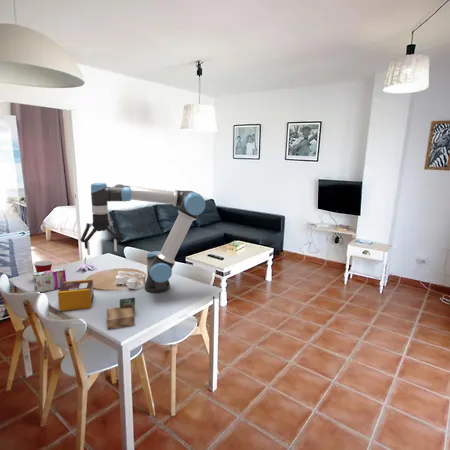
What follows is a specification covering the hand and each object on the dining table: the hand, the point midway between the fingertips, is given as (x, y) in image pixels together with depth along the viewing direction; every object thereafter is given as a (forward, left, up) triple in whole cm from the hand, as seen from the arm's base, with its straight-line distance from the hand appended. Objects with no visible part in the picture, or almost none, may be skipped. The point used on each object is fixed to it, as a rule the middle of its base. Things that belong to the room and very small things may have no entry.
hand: (102, 252), depth 167 cm
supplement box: (+15, 0, -24) cm, 28 cm away
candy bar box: (+16, -36, -23) cm, 46 cm away
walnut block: (-2, +24, -29) cm, 38 cm away
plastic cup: (+26, -53, -29) cm, 66 cm away
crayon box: (-7, +20, -21) cm, 30 cm away
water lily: (0, -62, -20) cm, 65 cm away
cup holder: (-19, -18, -29) cm, 39 cm away
